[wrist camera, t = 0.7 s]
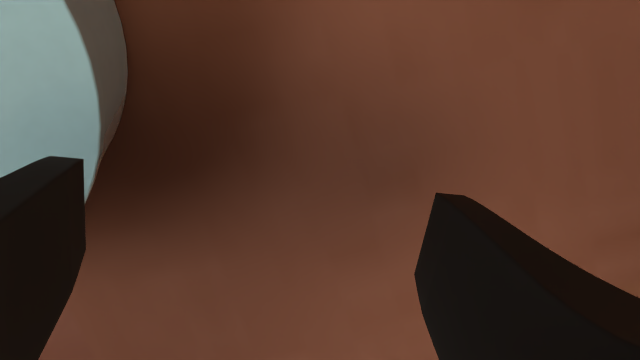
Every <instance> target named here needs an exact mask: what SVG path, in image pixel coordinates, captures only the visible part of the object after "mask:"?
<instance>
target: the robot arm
mask: <svg viewBox="0 0 640 360" xmlns="http://www.w3.org/2000/svg"><path fill="white" fill-rule="evenodd" d="M85 250H86V237H85V197H84V159H79V158H69V157H58V156H48V157H45V158H42V159H39V160H37V161H35V162H33V163H30V164H28V165H26V166H24V167H22V168H20V169H18V170H16V171H14V172H12V173H9V174H7V175H5V176H3V177H1V178H0V360H38V359H39V357H40V355H41V353H42V351H43V349H44V347H45V345H46V343H47V341H48V339H49V337H50V335H51V333H52V331H53V329H54V327H55V325H56V323H57V321H58V319H59V317H60V315H61V313H62V311H63V309H64V307H65V305H66V303H67V301H68V299H69V297H70V295H71V293H72V290H73V287H74V284H75V282H76V279H77V276H78V273H79V270H80V266H81V263H82V260H83V257H84V254H85ZM414 275H415V280H416V286H417V291H418V296H419V301H420V305H421V310H422V314H423V317H424V320H425V323H426V326H427V328H428V331H429V334H430V337H431V339H432V342H433V345H434V347H435V350H436V353H437V355H438V358H439V360H640V298H638V297H636V296H633V295H631V294H629V293H627V292H625V291H623V290H621V289H619V288H617V287H615V286H613V285H611V284H609V283H607V282H605V281H603V280H601V279H599V278H597V277H595V276H594V275H592V274H590V273H588V272H586V271H585V270H583V269H581V268H579V267H578V266H576V265H574V264H572V263H571V262H569V261H567V260H566V259H564V258H562V257H561V256H559V255H557V254H556V253H554V252H553V251H551V250H549V249H548V248H546V247H545V246H543V245H542V244H540V243H538V242H537V241H535V240H534V239H532V238H531V237H529V236H528V235H526V234H525V233H523V232H522V231H520V230H519V229H517V228H516V227H514V226H513V225H511V224H510V223H508V222H507V221H505V220H504V219H502V218H501V217H499V216H498V215H497V214H495V213H494V212H492V211H490V210H489V209H487V208H486V207H484V206H483V205H481V204H479V203H478V202H476V201H474V200H472V199H471V198H468V197H466V196H464V195H454V194H443V193H436V195H435V199H434V202H433V206H432V210H431V214H430V217H429V221H428V225H427V229H426V232H425V236H424V240H423V244H422V247H421V251H420V255H419V259H418V262H417V266H416V270H415V274H414Z"/></svg>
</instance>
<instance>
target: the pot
mask: <svg viewBox="0 0 640 360" xmlns="http://www.w3.org/2000/svg"><path fill="white" fill-rule="evenodd" d="M127 77H128V68H127V51H126V44H125V39H124V34H123V29H122V24H121V20H120V17H119V14H118V11H117V8H116V5H115V2H114V0H0V178H1V177H3V176H5V175H7V174H9V173H12V172H14V171H16V170H18V169H20V168H22V167H24V166H26V165H28V164H30V163H33V162H35V161H37V160H39V159H42V158H45V157H48V156H58V157H69V158H79V159H84V197H85V204H86V202H87V200H88V197H89V195H90V192H91V190H92V187H93V185H94V182H95V180H96V177H97V174H98V170H99V165H100V161H101V159H102V157H103V155H104V154H105V152H106V150H107V148H108V146H109V145H110V143H111V141H112V139H113V137H114V135H115V132H116V130H117V127H118V124H119V122H120V119H121V116H122V111H123V107H124V103H125V98H126V89H127Z"/></svg>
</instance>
